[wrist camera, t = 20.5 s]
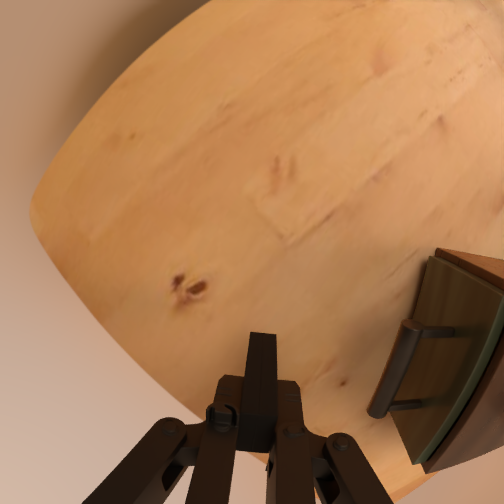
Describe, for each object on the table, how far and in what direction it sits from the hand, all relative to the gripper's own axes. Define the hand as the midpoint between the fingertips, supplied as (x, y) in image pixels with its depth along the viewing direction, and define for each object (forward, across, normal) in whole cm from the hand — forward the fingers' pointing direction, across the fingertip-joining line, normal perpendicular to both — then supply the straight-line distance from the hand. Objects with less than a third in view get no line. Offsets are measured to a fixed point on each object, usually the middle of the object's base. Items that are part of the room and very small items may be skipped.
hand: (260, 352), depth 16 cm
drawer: (+4, +17, -1) cm, 18 cm away
